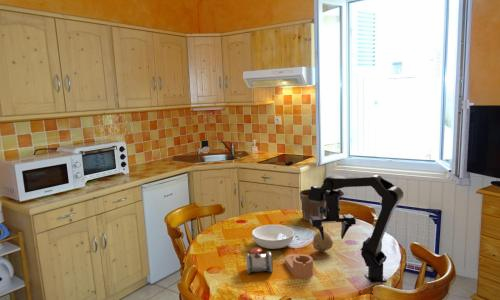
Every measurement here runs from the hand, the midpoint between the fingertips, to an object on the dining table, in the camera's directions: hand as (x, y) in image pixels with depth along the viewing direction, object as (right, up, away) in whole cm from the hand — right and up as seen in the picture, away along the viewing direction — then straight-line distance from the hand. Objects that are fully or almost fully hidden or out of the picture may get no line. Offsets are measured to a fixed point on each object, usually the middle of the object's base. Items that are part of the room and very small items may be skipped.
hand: (332, 239), depth 158 cm
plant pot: (+2, -2, +60) cm, 60 cm away
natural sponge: (-1, -10, +15) cm, 18 cm away
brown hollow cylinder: (-15, -13, 0) cm, 20 cm away
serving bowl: (-24, -9, +25) cm, 36 cm away
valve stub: (-32, -13, -1) cm, 34 cm away
